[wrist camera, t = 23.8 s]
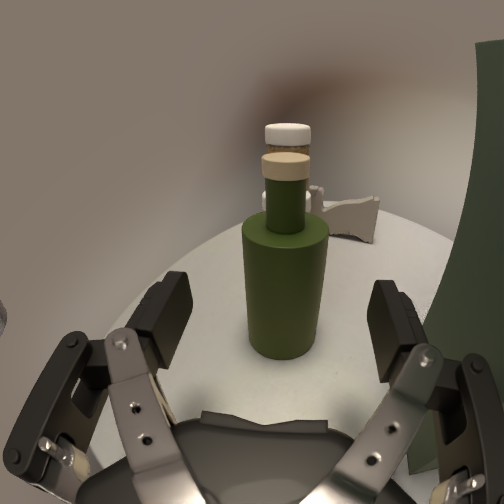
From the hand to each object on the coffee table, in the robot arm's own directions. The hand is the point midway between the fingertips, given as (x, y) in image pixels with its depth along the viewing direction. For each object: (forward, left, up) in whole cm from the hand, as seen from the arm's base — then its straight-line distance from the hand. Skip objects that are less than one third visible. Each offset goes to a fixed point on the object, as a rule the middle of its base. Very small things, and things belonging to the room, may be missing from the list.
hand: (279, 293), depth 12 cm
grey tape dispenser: (+6, +22, -9) cm, 24 cm away
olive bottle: (0, +5, -8) cm, 10 cm away
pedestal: (+12, -2, -8) cm, 15 cm away
